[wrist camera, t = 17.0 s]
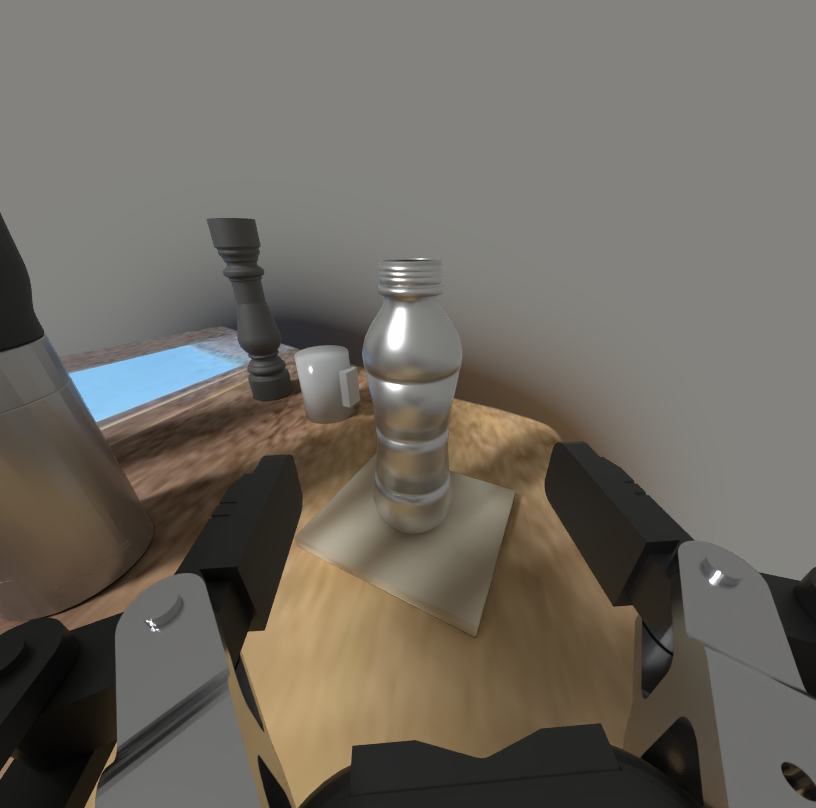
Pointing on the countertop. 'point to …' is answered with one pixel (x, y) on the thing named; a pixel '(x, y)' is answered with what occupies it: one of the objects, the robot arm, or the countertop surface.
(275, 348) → the candle holder
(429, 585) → the plain beige board
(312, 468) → the countertop surface
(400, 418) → the plastic bottle
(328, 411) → the grey mug
